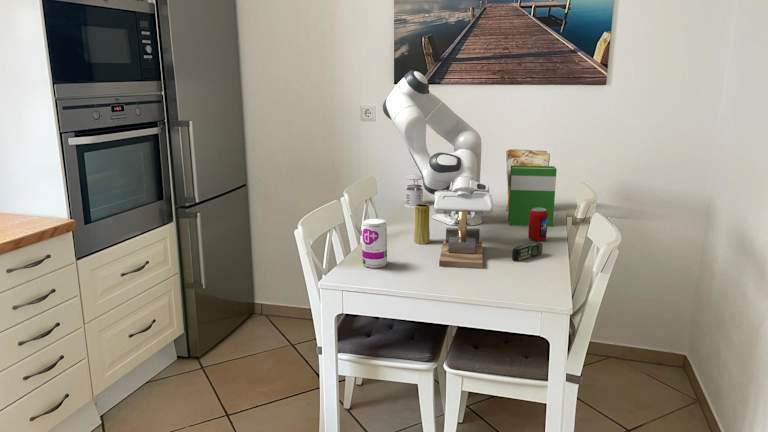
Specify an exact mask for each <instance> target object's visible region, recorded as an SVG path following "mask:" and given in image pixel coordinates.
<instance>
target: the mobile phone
mask: <svg viewBox="0 0 768 432" xmlns="http://www.w3.org/2000/svg"><path fill="white" fill-rule="evenodd" d="M543 245H544V244H543V243H542V241H533V242H529V243H524V244H521V245H517V246H515V247H513V248H512V250H511V252H512V253H511V260H512V261H513V262H520V261H525V260H528V259H532V258H536V257H539V255H541V254H542V253H543V247H544V246H543Z"/></svg>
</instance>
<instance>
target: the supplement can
mask: <svg viewBox="0 0 768 432" xmlns="http://www.w3.org/2000/svg"><path fill="white" fill-rule="evenodd" d="M387 226H388V225H387V223H386V220H385V219H381V218H377V217H376V218H367V219H364V220H363V222H362V224H361V250H362V251H361V254H362V255H361V258H362V261H361V263H362V265H364V267H367V268H371V269H372V268H373V269H379V268H382V267H385V266H386V264H387V263H388V254H387V253H388V246H387V244H388V234H387V233H388V227H387Z"/></svg>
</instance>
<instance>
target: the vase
mask: <svg viewBox="0 0 768 432" xmlns="http://www.w3.org/2000/svg"><path fill="white" fill-rule="evenodd" d="M414 210H415V211H414V235H413V236H414V237H413V238H414V239H413V243H414V242H415V243H414V244H418V245H427V244H429V243H431V239H430V237H431V236H430V234H431V233H430V205H429V204H428V203H422V204H416V205H415V208H414Z"/></svg>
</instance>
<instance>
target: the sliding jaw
mask: <svg viewBox="0 0 768 432" xmlns="http://www.w3.org/2000/svg"><path fill="white" fill-rule="evenodd" d="M457 228H458V237H449V244H448V252H453V253H475V238H467V228H468V225H467V211H459V212H458V225H457Z"/></svg>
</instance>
